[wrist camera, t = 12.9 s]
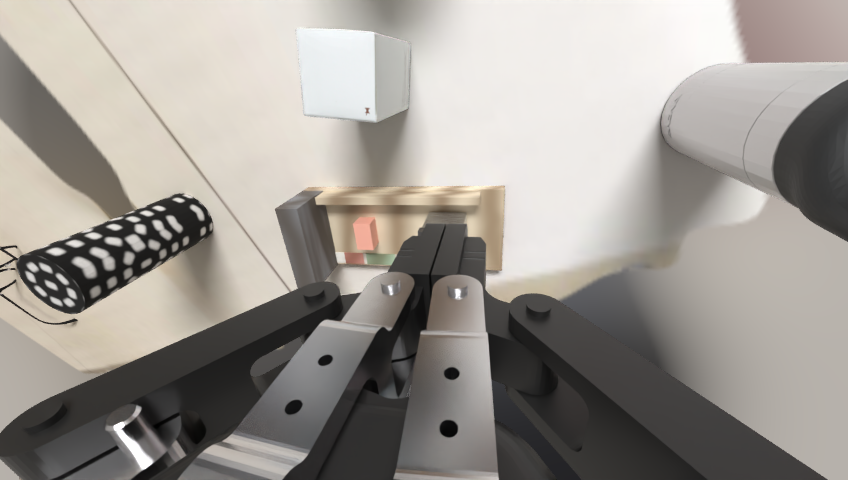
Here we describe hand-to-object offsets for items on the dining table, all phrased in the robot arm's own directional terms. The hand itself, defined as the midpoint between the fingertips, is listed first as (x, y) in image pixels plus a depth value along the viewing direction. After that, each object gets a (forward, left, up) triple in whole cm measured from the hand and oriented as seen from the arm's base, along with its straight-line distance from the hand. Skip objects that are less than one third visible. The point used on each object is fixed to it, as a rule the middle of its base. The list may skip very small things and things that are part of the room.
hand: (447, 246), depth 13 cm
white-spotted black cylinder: (+48, +13, -32) cm, 59 cm away
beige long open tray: (+11, +14, -32) cm, 37 cm away
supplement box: (+12, -6, -32) cm, 35 cm away
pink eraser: (+16, +14, -30) cm, 37 cm away
